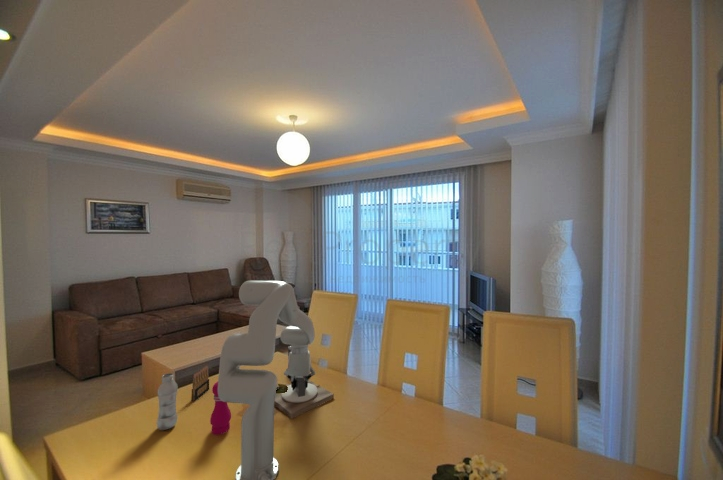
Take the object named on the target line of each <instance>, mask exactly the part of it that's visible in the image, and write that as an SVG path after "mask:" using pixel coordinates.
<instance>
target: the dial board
mask: <svg viewBox="0 0 723 480" xmlns="http://www.w3.org/2000/svg"><path fill="white" fill-rule="evenodd" d="M304 380H305V379H304ZM308 383H310V384H313V385H315V386H316V387H317V395H316V396H315V397H314V398H313V399H311V400H309V401H306V402H301V403H292V402H288V401H285V400H284V399H283V398H282V393H280V394H276V396H275V403H274V407H275V408H278V409H279V410H280V411H282V413H284V414H285V415H287V416H288V417H289V418H290V419H294V418H297V417H298V416H301V415H302V414H304V413H307V412H309V411H311V410H313V409H314V408H317V407H319V406H321V405H323V404H325V403H326V401H327V402H329V401H331V400H333V399H334V393H333V392H330V391H329V390H327V389H326V388H324V387H322V386H320V384H317V383H315V382H313V381H311V380H310V379H309V380H308ZM289 385H291V383H289V384H285V386H289ZM332 398H333V399H332ZM330 399H331V400H330ZM328 400H329V401H328ZM324 402H325V403H324ZM322 403H323V404H322ZM320 404H321V405H320ZM318 405H319V406H318ZM316 406H317V407H316Z"/></svg>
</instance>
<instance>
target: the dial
mask: <svg viewBox="0 0 723 480" xmlns="http://www.w3.org/2000/svg"><path fill="white" fill-rule="evenodd" d="M295 379H296V384H295V389H294V390H293V388H291V385H289V384H288V385H289V386H287V387H288V390H287V392H285V393H282V398H283V399H284V400H285V401H288V402H292V403H301V402H306V401H309V400H311V399H313V398H314V397H315V396H316V395H317V387H316V386H315V385H313V384H310V383H308V387H307V388H306V390H305V381H304V376H295Z"/></svg>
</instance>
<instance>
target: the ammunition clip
mask: <svg viewBox="0 0 723 480" xmlns="http://www.w3.org/2000/svg"><path fill="white" fill-rule="evenodd" d="M209 390H210V378H209V367H208V365H205V366H203V368H201V369H199V370H198V371H197V372H196V373H194V374H193V378H192V389H191V398H190V399H191V400H190V401H191V402H196V401H197V400H198V399H199V398H201V397H202V396H203V395H204V394H206V393H207V392H208V391H209Z"/></svg>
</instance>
